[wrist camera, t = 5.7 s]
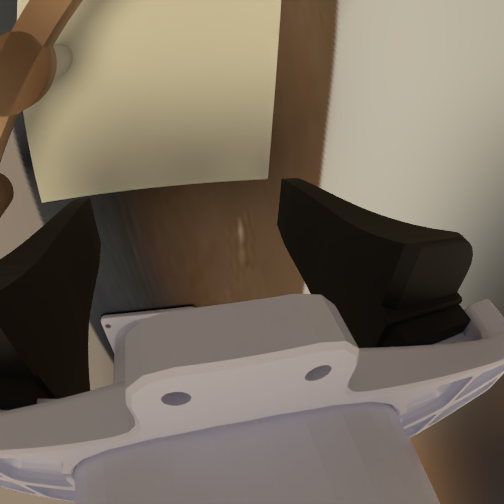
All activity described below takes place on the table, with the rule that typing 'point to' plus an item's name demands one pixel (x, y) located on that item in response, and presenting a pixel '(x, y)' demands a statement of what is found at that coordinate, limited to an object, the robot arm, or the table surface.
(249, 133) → the cream shape sorter
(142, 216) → the table surface
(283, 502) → the robot arm
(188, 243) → the table surface
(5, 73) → the lever
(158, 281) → the table surface
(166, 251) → the table surface
